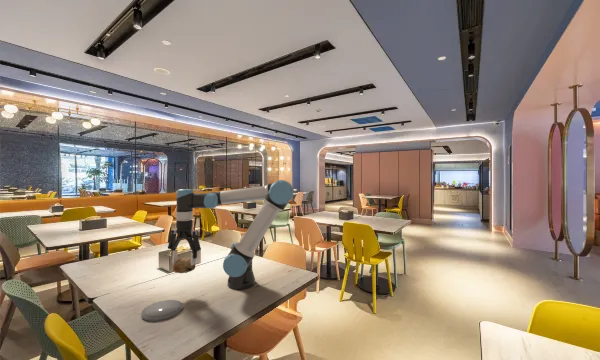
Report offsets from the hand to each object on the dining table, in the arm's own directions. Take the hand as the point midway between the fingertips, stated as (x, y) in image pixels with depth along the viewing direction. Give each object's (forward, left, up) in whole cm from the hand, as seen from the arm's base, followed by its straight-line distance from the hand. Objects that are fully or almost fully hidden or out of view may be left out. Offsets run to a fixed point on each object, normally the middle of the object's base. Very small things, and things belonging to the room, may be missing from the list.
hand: (183, 263), depth 127 cm
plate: (-2, +16, -16) cm, 22 cm away
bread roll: (0, 0, -3) cm, 3 cm away
